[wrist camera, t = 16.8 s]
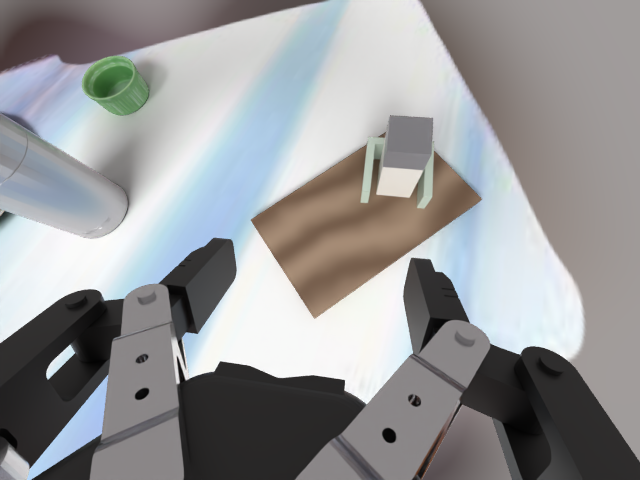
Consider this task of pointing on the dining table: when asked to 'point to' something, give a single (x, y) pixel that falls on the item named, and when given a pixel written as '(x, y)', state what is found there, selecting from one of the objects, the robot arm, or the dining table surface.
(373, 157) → the end holder
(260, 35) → the dining table surface
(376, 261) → the board
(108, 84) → the ramekin
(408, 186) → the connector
